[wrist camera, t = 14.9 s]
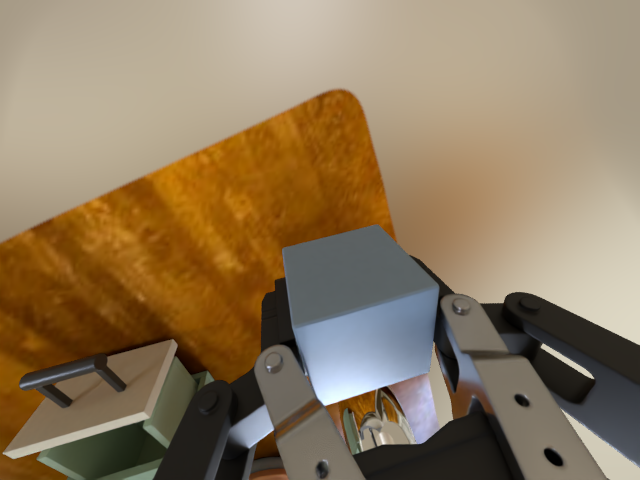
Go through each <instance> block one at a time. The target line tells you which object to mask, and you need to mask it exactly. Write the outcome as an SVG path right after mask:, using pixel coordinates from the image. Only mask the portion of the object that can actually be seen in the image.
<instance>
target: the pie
mask: <svg viewBox="0 0 640 480" xmlns="http://www.w3.org/2000/svg"><path fill="white" fill-rule="evenodd" d="M249 480H289V479H288V476H287V474H286V471H285V468H284V465H283V462H282V459H281V457H267V458H261V459H258V460H254V461H253V462H252V467H251V471H250V475H249Z"/></svg>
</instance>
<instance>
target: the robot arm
mask: <svg viewBox="0 0 640 480" xmlns="http://www.w3.org/2000/svg"><path fill="white" fill-rule="evenodd" d="M409 256H410V257H411V258H412V259H413V260H414V261H415V262H416V263H417V264H418V265H419V266H420V267H421V268H422V269H423V270H424V271H425V272H426V273H427V274H428V275H429V276H430V277H431V278H432V279H433V280H434V281H435V282H436V283H437V284H438V285H439V296H438V304H437V313H436V321H435V330H434V339H433V341H434V342H435V352H436V356H437V359H438V361H439V365H440V368H441V371H442V374H443V377H444V380H445V383H446V386H447V389H448V392H449V395H450V399H451V405H452V414H453V420H452V421H449V422H448V423H447V424H446V425H445V426H443V427H442V428H441V429H440V430H439V431H437V432H436V433H435V434H434V435H433V436H432V437H430V438H429V439H428V440H427V441H426V442H424V443H422V444H383V445H380V446H377V447H374V448H371V449H369V450H366V451H363V452H360V453H357V454H354V455H352V454H351V452H350V451H349V449H348V447H347V445H346V444H345V442H344V440H343V438H342V436H341V435H340V433H339V431H338V429H337V427H336V426H335V424H334V422H333V420H332V418H331V417H330V415H329V413H328V411H327V410H326V408H325V406H324V405H323V403H322V402H321V400H319V399H318V398H317V396H316V394H315V392H314V391H313V389H312V387H311V385H310V383H309V381H308V380H307V378H306V376H308V374H307V371H306V368H305V365H304V362H303V359H302V356H301V353H300V350H299V347H298V344H297V341H296V338H295V335H294V332H293V329H292V323H291V315H290V308H289V300H288V292H287V284H286V277H284V278H281V279H277V280H275V291H273V292H270V293H266V295H265V297H264V299H263V301H262V318H261V319H262V321H261V354H260V355H259V356H258V358H257V360H256V362H255V365H254V367H253V368H252V369H251V370H250V371H249V372H248V373H246V374H245V375H243V376H242V377H240V378H239V379H237V380H235V381H234V382H232V383H231V384H228V383H227V382H226V381H223V380H216V381H213V382H210V383H208V384H206V385H205V386H203V387H202V388H201V389H200V390H199V391H198V392H197V393H196V394H195V395H194V397H193V398H192V399H191V401H190V403H189V405H188V407H187V409H186V411H185V413H184V415H183V418H182V420H181V422H180V424H179V426H178V428H177V430H176V432H175V434H174V436H173V438H172V440H171V442H170V445H169V447H168V449H167V451H166V453H165V455H164V457H163V459H162V461H161V463H160V465H159V467H158V469H157V471H156V474H155V476H154V478H153V480H249V475H250V471H251V467H252V462H253V458H254V454H255V449H256V445H257V442H258V441H260V440H261V439H262V438H263V437H265V436H266V435H267V434H269V433H270V432H271V431H273V430H274V437H275V440H276V444H277V447H278V450H279V453H280V456H281V459H282V462H283V465H284V468H285V471H286V474H287V476H288V479H289V480H609V479H608V478H606V476H605V475H604V473H603V472H602V470H601V469H600V467H599V466H598V464H597V463H596V461H595V460H594V458H593V457H592V455H591V454H590V452H589V451H588V449H587V448H586V446H585V445H584V443H583V442H582V440H581V439H580V437H579V436H578V434H577V433H576V431H575V430H574V428H573V427H572V425H571V424H570V422H569V421H568V419H567V418H566V416H565V415H564V413H563V412H562V410H564V411H565V412H566V413H568V414H569V415H570V416H572V417H573V418H574V419H575V420H577V421H578V422H579V423H581V424H582V425H583V426H585V427H586V428H588V429H589V430H590V431H592V432H593V433H594V434H595V435H597V436H598V437H599V438H601V439H602V440H603V441H605V442H606V443H607V444H609V445H610V446H611V447H613V448H614V449H615V450H617V451H618V452H619V453H621V454H622V455H623V456H625V457H626V458H627V459H629V460H630V461H631V462H633V463H634V464H635V465H637V466H638V467H639V468H640V345H638V344H636V343H633V342H631V341H629V340H627V339H625V338H623V337H621V336H619V335H617V334H615V333H613V332H611V331H609V330H607V329H605V328H602V327H600V326H598V325H596V324H594V323H592V322H590V321H588V320H586V319H584V318H582V317H580V316H577V315H576V314H574V313H571V312H569V311H567V310H565V309H563V308H561V307H559V306H557V305H555V304H553V303H550V302H549V301H546V300H545V299H542V298H540V297H538V296H536V295H533V294H529V293H523V292H515V293H511V294H509V295H507V296H506V298H505V300H504V303H497V304H496V303H495V304H494V303H492V304H491V303H490V304H481V303H478V302H477V301H476V300H475V299H473V298H471V297H469V296H466V295H463V294H455V293H454V292H453V291H452V290H451V289H450V288H449V287H448V286H447V285H445V283H444V282H443V281H442V280H441V279H440V278H438V277H437V276H436V275H435V274H434V273H433V272H432V271H431V270H430V269H429V268H427V266H426V265H425V264H424V263H423V262H422V261H420V260H419V259H417V258H415V257H413V256H411V255H409ZM543 343H544V344H546V345H547V346H549V347H550V348H552V349H554V350H555V351H557V352H559V353H560V354H562V355H564V356H565V357H567V358H569V359H570V360H572V361H573V362H575V363H577V364H578V365H580V366H582V367H583V368H585V369H586V370H587V371H589V372H590V373H591V374H592V376H593V377H594V379H591V378H589V377H587V376H585V375H583V374H582V373H580V372H578V371H577V370H575V369H574V368H572V367H570V366H569V365H567V364H566V363H564V362H562V361H561V360H559V359H558V358H556V357H554V356H553V355H551V354H550V353H548V352H546V351H545V350H543V349H541V345H542V344H543ZM560 408H561V409H562V410H561V409H560Z"/></svg>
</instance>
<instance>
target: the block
mask: <svg viewBox="0 0 640 480" xmlns="http://www.w3.org/2000/svg"><path fill="white" fill-rule="evenodd" d="M282 253H283V261H284V269H285V277H286V284H287V292H288V300H289V308H290V315H291V323H292V329H293V332H294V335H295V338H296V341H297V344H298V347H299V350H300V353H301V356H302V359H303V362H304V365H305V368H306V371H307V374H308V377H309V380H310V383H311V386H312V389H313V391H314V392H315V394H316V396H317V398H318V399H319V400H321V402H322V403H323V405H324V406H325V405H328V404H331V403H335V402H338V401H341V400H344V399H347V398H350V397H353V396H356V395H359V394H363V393H366V392H369V391H372V390H375V389H378V388H381V387H384V386H387V385H391V384H394V383H397V382H400V381H403V380H406V379H409V378H412V377H415V376H419V375H422V374H425V373H428V372H429V371H430V365H431V356H432V346H433V339H434V330H435V321H436V313H437V304H438V296H439V285H438V284H437V283H436V282H435V281H434V280H433V279H432V278H431V277H430V276H429V275H428V274H427V273H426V272H425V271H424V270H423V269H422V268H421V267H420V266H419V265H418V264H417V263H416V262H415V261H414V260H413V259H412V258H411V257H410V256H409V255H408V254H407V253H406V252H405V251H404V250H403V249H402V248H401V247H400V246H399V245H398V244H397V243H396V242H395V241H394V240H393V239H392V238H391V237H390V236H389V235H388V234H387V233H386V232H385V231H384V230H383V229H382V228H381V227H380V226H379V225H373V226H369V227H365V228H361V229H357V230H353V231H349V232H345V233H341V234H337V235H333V236H329V237H325V238H321V239H317V240H313V241H309V242H305V243H301V244H297V245H293V246H289V247H285V248H283V249H282Z"/></svg>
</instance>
